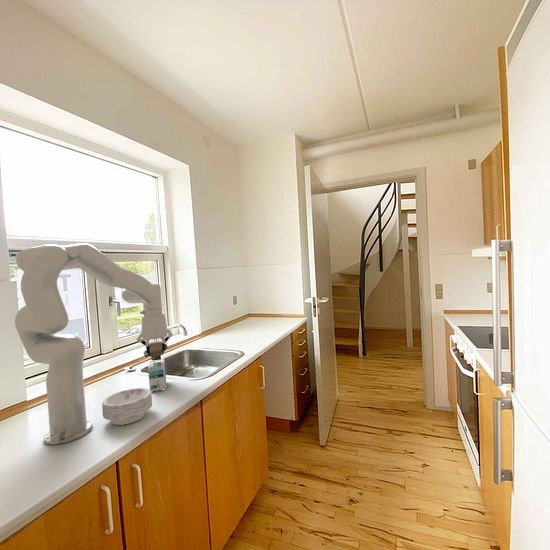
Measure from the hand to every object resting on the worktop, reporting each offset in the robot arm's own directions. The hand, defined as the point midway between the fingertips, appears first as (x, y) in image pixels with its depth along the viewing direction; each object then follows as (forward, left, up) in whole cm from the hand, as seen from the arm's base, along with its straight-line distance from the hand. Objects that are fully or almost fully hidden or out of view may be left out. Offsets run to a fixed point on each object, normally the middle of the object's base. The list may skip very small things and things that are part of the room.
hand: (156, 353), depth 127 cm
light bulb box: (0, 0, -15) cm, 15 cm away
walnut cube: (0, 0, -1) cm, 1 cm away
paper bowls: (-25, +10, -15) cm, 31 cm away
